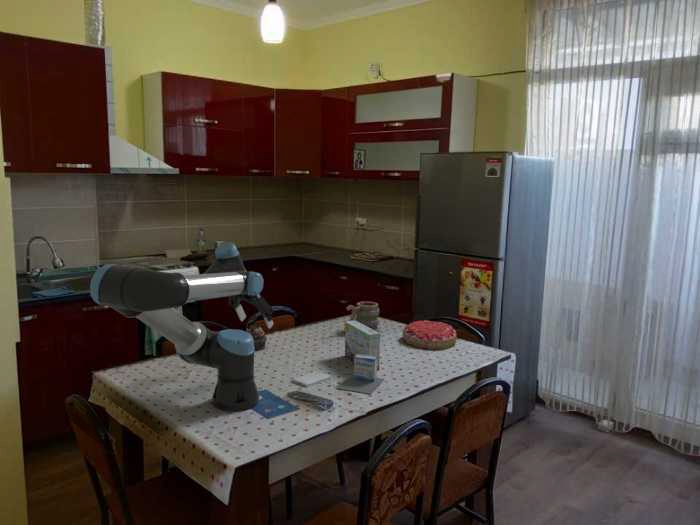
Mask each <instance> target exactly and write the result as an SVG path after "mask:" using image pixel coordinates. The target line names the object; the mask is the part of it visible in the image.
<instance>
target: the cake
mask: <svg viewBox="0 0 700 525" xmlns="http://www.w3.org/2000/svg"><path fill="white" fill-rule="evenodd" d="M402 337H403V340H404V341H405V343H406V344H407V345H412V346H413V347H418V348H424V349H426V350H427V349H429V350H444V349H449V348H451V347H453V346H454V345H455V344H456V342H457V331H456V330H455V328H454V327H452V325H450V324H448V323H444V322H442V321H431V320H427V319H424V320H417V321H413V322H409V324H407V325H406V326H404V328H403V330H402Z"/></svg>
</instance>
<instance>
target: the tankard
mask: <svg viewBox="0 0 700 525" xmlns="http://www.w3.org/2000/svg"><path fill="white" fill-rule="evenodd" d="M345 309H346V310H347V311H350V310H351V316H350V319H349V321H357V322H359V323H361V324H363V325H365V326H367V327H369V328H371V329H373V330H374V331H376V332H378V333H380V331H381V330H380V329H381V328H380V327H379V322H380V320H379V319H380V318H379V317H378V316H379V315H380V308H379V303H377V302H374V301H359V302H357V303H356V306H354V305H352V304H349V305H348V306H347V307H346V308H345Z"/></svg>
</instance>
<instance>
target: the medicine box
mask: <svg viewBox="0 0 700 525" xmlns="http://www.w3.org/2000/svg"><path fill="white" fill-rule="evenodd" d="M353 368H354V370H353V374H354V379H355V380H363V381H373V382H374V381H375V379H376V378H378V376H377V375H378V370H377V356H369V355H359V354H357V355H356V357H355V362H354V367H353Z"/></svg>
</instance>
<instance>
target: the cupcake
mask: <svg viewBox="0 0 700 525" xmlns="http://www.w3.org/2000/svg"><path fill="white" fill-rule="evenodd" d="M245 332H247V333H249V334H250V335H251V336H252V337H253V339H254V348H255V350H254V352H259V351H264V350H265V348H266V343H267V336H266V335H265V331H264V330H263V329H262V328H261V327H260V325H254V324H252V325H251V326H248V327H247V328H246V331H245Z"/></svg>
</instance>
